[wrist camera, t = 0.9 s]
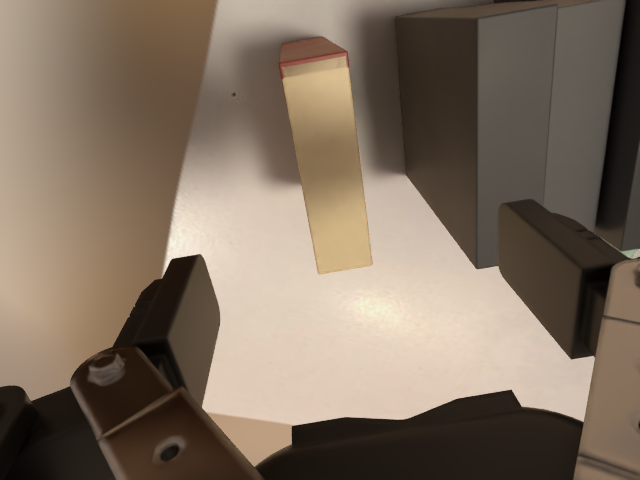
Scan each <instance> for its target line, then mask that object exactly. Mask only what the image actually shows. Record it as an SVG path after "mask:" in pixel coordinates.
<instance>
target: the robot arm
mask: <svg viewBox="0 0 640 480" xmlns="http://www.w3.org/2000/svg"><path fill="white" fill-rule="evenodd" d="M497 261H498V266H499V269H500V272H501V274H502V276H503V278H504V279H505V280H506V282H507V283H508V284H509V285H510V286H511V288H512V289H513V290H514V291H515V292H516V294H517V295H518V296H519V297H520V298H521V300H522V301H523V302H524V303H525V304H526V306H527V307H528V308H529V309H530V310H531V312H532V313H533V314H534V315H535V316H536V318H537V319H538V320H539V321H540V322H541V324H542V325H543V326H544V327H545V329H546V330H547V331H548V332H549V333H550V335H551V336H552V337H553V338H554V339H555V341H556V342H557V343H558V344H559V345H560V347H561V348H562V349H563V350H564V351H565V353H566V354H567V355H568V356H569V357H570V359H577V358H583V357H589V356H594V357H595V362H594V368H593V373H592V379H591V385H590V390H589V396H588V402H587V407H586V413H585V418H584V422H582V421H580V420H577V419H575V418H572V417H569V416H566V415H563V414H560V413H557V412H552V411H548V410H544V409H537V408H530V407H521V405H520V403H519V402H518V400H517V398H516V397H515V395H514V393H513V392H512V390H507V391H501V392H495V393H489V394H483V395H477V396H471V397H465V398H459V399H455V400H453V401H451V402H448V403H446V404H443V405H441V406H438V407H436V408H433V409H431V410H429V411H426V412H424V413H421V414H419V415H416V416H414V417H411V418H409V419H404V420H391V419H371V418H350V417H344V418H338V419H332V420H326V421H320V422H314V423H308V424H302V425H296V426H292V445H290V446H287V447H285V448H283V449H281V450H279V451H277V452H275V453H273V454H272V455H270V456H269V457H267V458H266V459H264V460H263V461H262V462H260V463H259V464H258V465H256V466H255V467H254V466H253V465H252V464H251V463H250V462H249V461H248V460H247V459H246V458H245V456H244V455H243V454H242V453H241V452H240V451H239V449H238V448H236V446H235V445H234V444H233V443H232V442H231V441H230V439H229V438H228V437H227V436H226V435H225V434H224V432H223V431H222V430H221V429H220V428H219V427H218V426H217V425H216V423H214V421H213V420H212V419H211V418H210V417H209V416H208V414H207V413H206V412H205V411H204V410H203V409H202V403H203V399H204V394H205V390H206V385H207V381H208V376H209V372H210V367H211V363H212V358H213V353H214V349H215V344H216V340H217V335H218V331H219V326H220V311H219V305H218V301H217V298H216V295H215V292H214V289H213V285H212V282H211V279H210V276H209V273H208V269H207V266H206V263H205V261H204V258H203V257H202V255H200V254H198V255H193V256H187V257H181V258H175V259H172V260H171V261H170V264H169V266H168V268H167V270H166V272H165V274H164V276H163V278H162V279H158V280H155V281H153V282H152V283H151V284H150V285H149V286H148V287H147V288H146V289H145V290H143V292H141V295H140V296H139V298H138V300H137V302H136V304H135V307H134V308H133V310H132V311H131V313H130V317H129V318H128V319H127V321H126V323H125V325H124V326H123V328H122V330H121V332H120V334H119V336H118V338H117V339H116V342H115V343H114V345H113V347H111V348H108V349H106V350H103V351H101V352H99V353H97V354H95V355H93V356H92V357H90V358H89V359H87V360H86V361H85V362H84V363H82V364H81V365H80V366H79V367H78V368H77V370H76V371H75V372H74V374H73V376H72V378H71V381H70V387H67V388H65V389H63V390H60V391H57V392H54V393H52V394H49V395H46V396H44V397H41V398H38V399H36V400H33V401H30V399H29V397H28V396H27V394H26V392H25V391H24V390H23V389H22V388H21V387H19V386H4V387H0V480H640V259H630V258H628V257H627V256H626V255H624V254H623V253H621V252H620V251H618V250H617V249H616V248H614V247H613V246H611V245H610V244H608V243H607V242H606V241H604V240H603V239H601V238H600V239H599V238H598V236H597V235H596V234H594V233H593V232H591V231H588V230H587V228H586V227H584V226H583V225H581V224H580V223H579V222H577V221H576V220H574V219H572V218H569V217H566V216H563V215H560V214H557V213H551V212H550V211H548V210H547V209H546V208H544V207H543V206H542V205H540V204H539V203H537V202H536V201H535V200H533V199H525V200H519V201H513V202H507V203H502V204H501V205H500V207H499V210H498V235H497Z"/></svg>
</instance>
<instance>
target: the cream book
mask: <svg viewBox="0 0 640 480" xmlns="http://www.w3.org/2000/svg"><path fill="white" fill-rule="evenodd" d="M279 69H280V74H281V79H282V82H283V88H284V93H285V98H286V104H287V109H288V114H289V120H290V125H291V130H292V136H293V141H294V147H295V152H296V157H297V163H298V168H299V173H300V179H301V184H302V189H303V195H304V200H305V206H306V211H307V216H308V222H309V227H310V232H311V238H312V243H313V248H314V254H315V259H316V265H317V270H318V274H324V273H330V272H336V271H342V270H348V269H354V268H360V267H365V266H371V265H372V256H371V247H370V239H369V231H368V222H367V214H366V206H365V198H364V189H363V181H362V173H361V164H360V156H359V148H358V139H357V131H356V123H355V114H354V106H353V98H352V89H351V81H350V73H349V60H348V52H347V51H346V50H344V49H343V48H341V47H339V46H338V45H336V44H334V43H333V42H331V41H329V40H328V39H326V38H324V37H318V38H312V39H307V40H301V41H295V42H290V43H284V44H282V47H281V53H280V59H279Z"/></svg>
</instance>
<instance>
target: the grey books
mask: <svg viewBox="0 0 640 480" xmlns="http://www.w3.org/2000/svg"><path fill="white" fill-rule="evenodd" d="M395 30H396V43H397V57H398V71H399V84H400V98H401V112H402V125H403V139H404V153H405V166H406V175H407V177H408V178H409V179H410V181H411V182H412V183H413V185H414V186H415V187H416V189H417V190H418V191H419V193H420V194H421V195H422V197H423V198H424V199H425V201H426V202H427V203H428V205H429V206H430V207H431V209H432V210H433V212H434V213H435V214H436V216H437V217H438V218H439V220H440V221H441V222H442V224H443V225H444V226H445V228H446V229H447V230H448V232H449V233H450V234H451V236H452V237H453V238H454V240H455V241H456V242H457V244H458V245H459V246H460V248H461V249H462V250H463V252H464V253H465V254H466V256H467V257H468V258H469V260H470V261H471V262H472V264H473V265H474V266H475V268H476V269H482V268H488V267H494V266H498V261H497V235H498V210H499V207H500V205H501V204H502V203H507V202H513V201H519V200H525V199H533V200H535V201H536V202H537V203H539V204H540V205H542V206H543V207H544V208H546V209H547V210H548V211H550V212H551V213H557V214H560V215H563V216H566V217H569V218H572V219H574V220H576V221H577V222H579V223H580V224H581V225H583V226H584V227H586V228H587V230H588V231H591V232H593V233H595V234H596V235H598V236H599V237H601V238H602V239H603V240H605V241H606V242H608V243H609V244H611V245H612V246H613V247H615V248H616V249H618V250H619V251H621V252H623V251H629V250H635V249H640V0H495V3H490V4H484V5H478V6H473V7H464V8H440V9H434V10H429V11H423V12H417V13H412V14H406V15H400V16H396V17H395Z"/></svg>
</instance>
